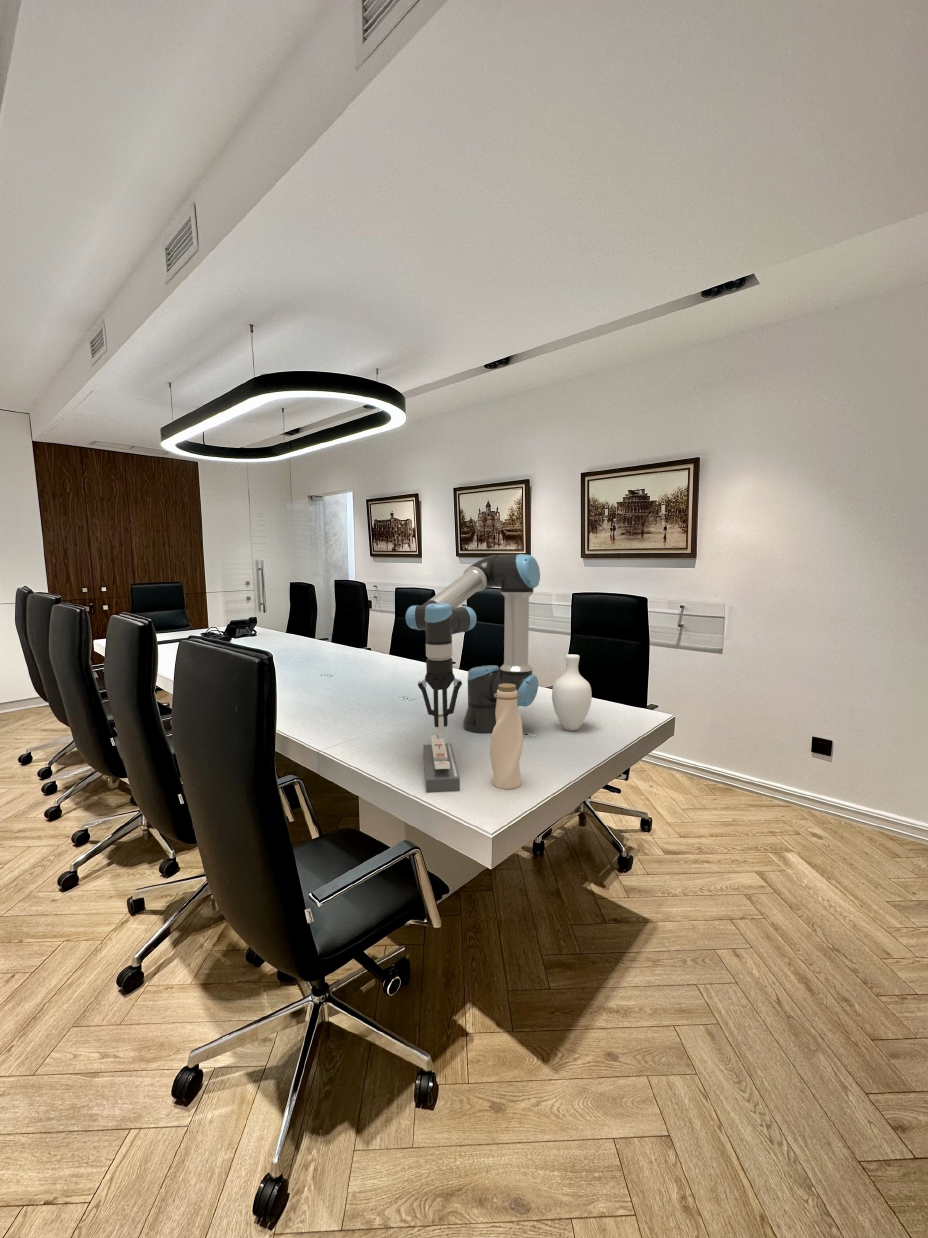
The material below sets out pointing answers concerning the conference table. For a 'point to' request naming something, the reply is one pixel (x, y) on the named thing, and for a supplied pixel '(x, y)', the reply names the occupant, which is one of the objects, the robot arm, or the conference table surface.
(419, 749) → the conference table surface
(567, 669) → the vase
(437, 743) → the rocker
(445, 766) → the rocker
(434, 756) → the rocker
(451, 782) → the power strip
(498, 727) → the water bottle
